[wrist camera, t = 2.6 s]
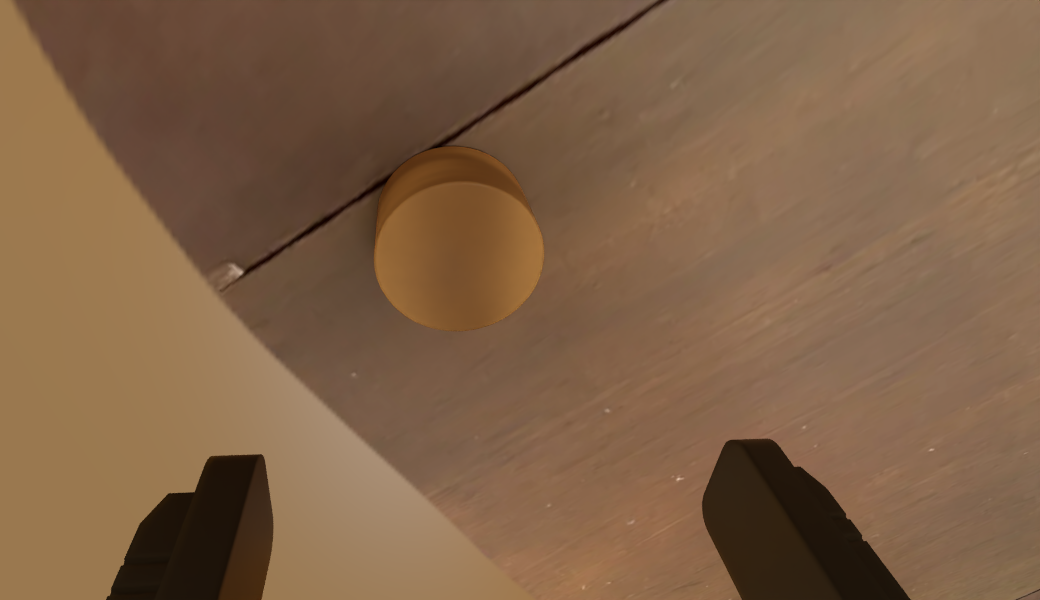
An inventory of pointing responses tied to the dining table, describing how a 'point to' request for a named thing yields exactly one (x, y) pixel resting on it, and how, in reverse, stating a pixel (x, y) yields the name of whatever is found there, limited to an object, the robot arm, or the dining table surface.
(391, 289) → the tan short cylinder
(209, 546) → the robot arm
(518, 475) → the dining table surface
